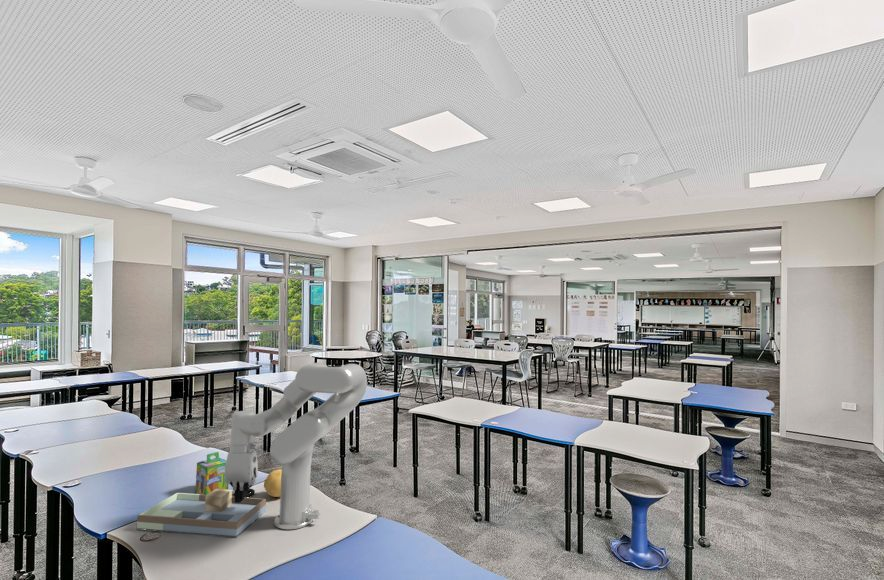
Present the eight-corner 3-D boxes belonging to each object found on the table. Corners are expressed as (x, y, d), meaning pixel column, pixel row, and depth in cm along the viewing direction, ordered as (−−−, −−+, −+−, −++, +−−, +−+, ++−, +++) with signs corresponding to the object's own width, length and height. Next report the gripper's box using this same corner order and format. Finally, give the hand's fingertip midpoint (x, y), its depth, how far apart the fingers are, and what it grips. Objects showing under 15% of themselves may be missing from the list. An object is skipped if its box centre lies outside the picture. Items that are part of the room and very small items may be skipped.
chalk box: (205, 499, 163) (207, 459, 164) (194, 492, 168) (196, 453, 169) (229, 491, 170) (231, 453, 171) (218, 485, 176) (220, 448, 176)
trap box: (265, 511, 153) (265, 498, 154) (236, 537, 135) (237, 522, 136) (176, 505, 157) (177, 492, 157) (136, 529, 139) (137, 515, 139)
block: (231, 504, 153) (232, 489, 153) (221, 511, 147) (221, 496, 148) (215, 503, 154) (216, 488, 154) (204, 510, 148) (205, 495, 148)
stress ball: (275, 492, 172) (256, 480, 167) (293, 472, 175) (275, 459, 170) (280, 506, 163) (260, 494, 159) (299, 484, 166) (280, 472, 162)
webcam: (228, 498, 164) (230, 471, 164) (240, 490, 171) (241, 464, 172) (248, 500, 163) (249, 473, 163) (258, 492, 170) (260, 466, 171)
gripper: (267, 445, 154) (265, 498, 153) (228, 443, 155) (225, 495, 154) (256, 452, 146) (253, 507, 145) (215, 449, 148) (212, 504, 147)
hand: (239, 500), depth 150 cm, fingers closed
